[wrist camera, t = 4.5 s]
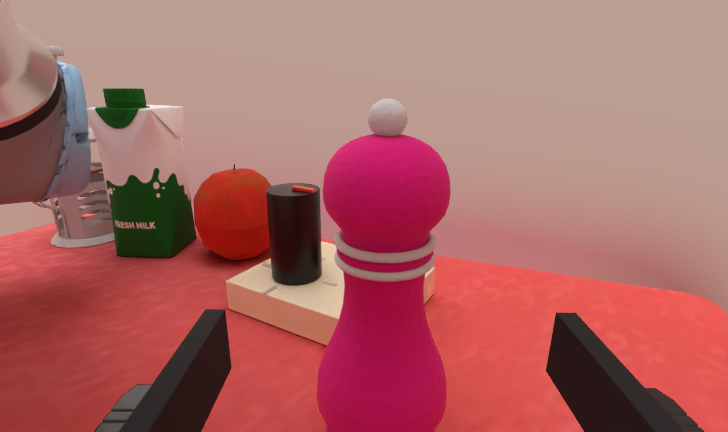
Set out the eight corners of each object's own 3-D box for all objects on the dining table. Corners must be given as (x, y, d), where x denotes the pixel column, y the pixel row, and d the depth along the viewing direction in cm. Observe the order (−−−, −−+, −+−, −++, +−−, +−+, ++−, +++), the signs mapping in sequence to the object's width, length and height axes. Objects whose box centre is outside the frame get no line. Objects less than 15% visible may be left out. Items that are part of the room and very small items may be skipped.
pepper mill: (391, 387, 29) (400, 95, 23) (467, 462, 23) (508, 100, 17) (298, 433, 25) (280, 97, 19) (362, 536, 19) (366, 103, 13)
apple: (256, 233, 59) (250, 154, 55) (297, 253, 52) (293, 164, 48) (186, 252, 52) (174, 163, 49) (222, 278, 45) (211, 176, 42)
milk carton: (105, 259, 50) (70, 88, 44) (147, 233, 58) (122, 88, 52) (174, 261, 49) (149, 89, 43) (206, 235, 58) (189, 88, 52)
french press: (147, 228, 61) (117, 47, 53) (69, 257, 50) (17, 38, 43) (100, 220, 64) (66, 49, 56) (18, 246, 54) (-38, 41, 46)
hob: (227, 308, 39) (224, 279, 38) (310, 261, 50) (309, 237, 49) (373, 364, 31) (374, 328, 31) (433, 293, 42) (435, 266, 41)
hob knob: (261, 277, 39) (254, 187, 36) (293, 260, 43) (289, 177, 40) (301, 290, 36) (296, 195, 34) (331, 270, 40) (330, 183, 38)
